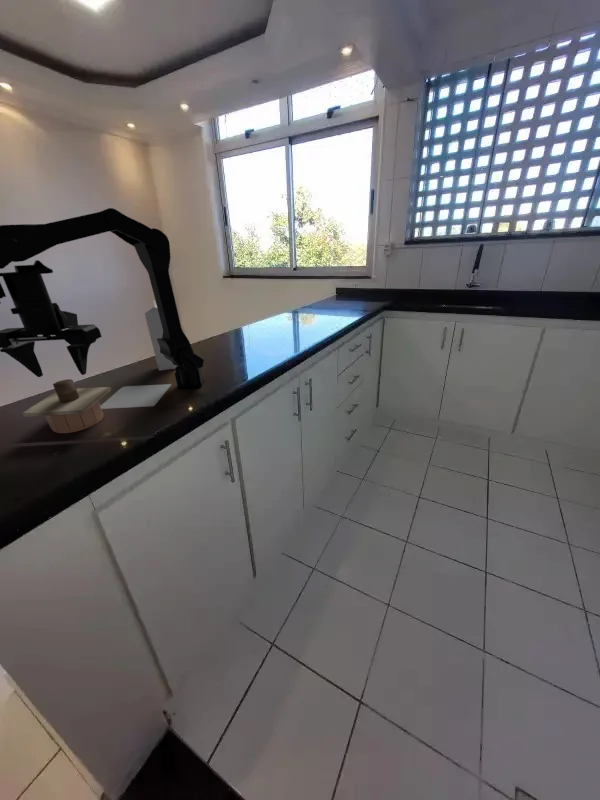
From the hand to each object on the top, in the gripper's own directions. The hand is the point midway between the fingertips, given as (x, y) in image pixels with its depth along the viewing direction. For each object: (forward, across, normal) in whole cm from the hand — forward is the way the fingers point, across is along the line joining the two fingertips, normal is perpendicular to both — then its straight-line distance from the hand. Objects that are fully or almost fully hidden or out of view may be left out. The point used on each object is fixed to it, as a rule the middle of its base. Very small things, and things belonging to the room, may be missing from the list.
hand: (62, 375), depth 67 cm
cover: (+6, 0, 0) cm, 6 cm away
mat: (+12, -8, -13) cm, 19 cm away
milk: (+12, -9, -36) cm, 39 cm away
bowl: (+12, 0, 0) cm, 12 cm away
